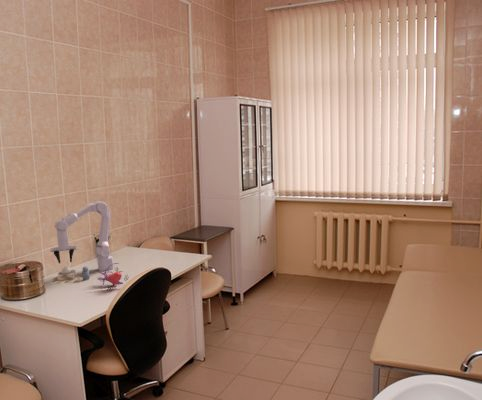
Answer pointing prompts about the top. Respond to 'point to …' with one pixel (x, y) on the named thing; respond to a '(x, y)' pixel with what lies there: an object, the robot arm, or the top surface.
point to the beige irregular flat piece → (67, 277)
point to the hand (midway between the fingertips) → (65, 262)
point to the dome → (66, 270)
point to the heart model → (112, 277)
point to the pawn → (85, 273)
